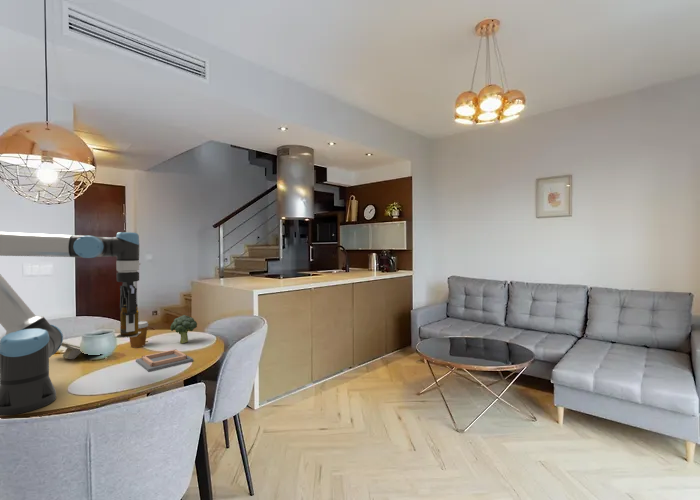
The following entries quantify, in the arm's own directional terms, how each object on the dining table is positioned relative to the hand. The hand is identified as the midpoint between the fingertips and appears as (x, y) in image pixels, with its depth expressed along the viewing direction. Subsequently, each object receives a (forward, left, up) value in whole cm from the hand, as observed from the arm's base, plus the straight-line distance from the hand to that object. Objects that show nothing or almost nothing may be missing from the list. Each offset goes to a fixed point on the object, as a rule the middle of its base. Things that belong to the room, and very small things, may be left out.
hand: (128, 329), depth 136 cm
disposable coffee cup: (+15, +45, -19) cm, 51 cm away
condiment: (0, -1, -2) cm, 2 cm away
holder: (+16, +9, -18) cm, 26 cm away
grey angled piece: (-9, +45, -19) cm, 50 cm away
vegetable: (+34, +34, -19) cm, 52 cm away
